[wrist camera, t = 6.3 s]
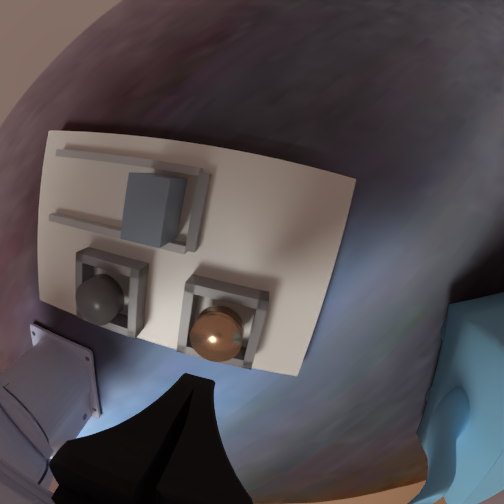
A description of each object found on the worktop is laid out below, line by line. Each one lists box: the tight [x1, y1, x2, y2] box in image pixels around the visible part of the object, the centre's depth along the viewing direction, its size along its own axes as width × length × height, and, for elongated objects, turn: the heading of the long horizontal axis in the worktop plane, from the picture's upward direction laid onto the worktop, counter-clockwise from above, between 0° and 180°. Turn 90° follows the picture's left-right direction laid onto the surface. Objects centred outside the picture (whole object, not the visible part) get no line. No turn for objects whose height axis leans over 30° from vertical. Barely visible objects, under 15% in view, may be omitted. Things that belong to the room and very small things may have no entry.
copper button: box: [190, 306, 244, 362], centre depth 17 cm, size 3×3×2 cm
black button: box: [75, 274, 124, 326], centre depth 17 cm, size 3×3×2 cm
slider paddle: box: [120, 172, 187, 248], centre depth 16 cm, size 4×2×3 cm, turn 168°
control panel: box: [38, 131, 356, 376], centre depth 18 cm, size 14×22×3 cm, turn 78°
